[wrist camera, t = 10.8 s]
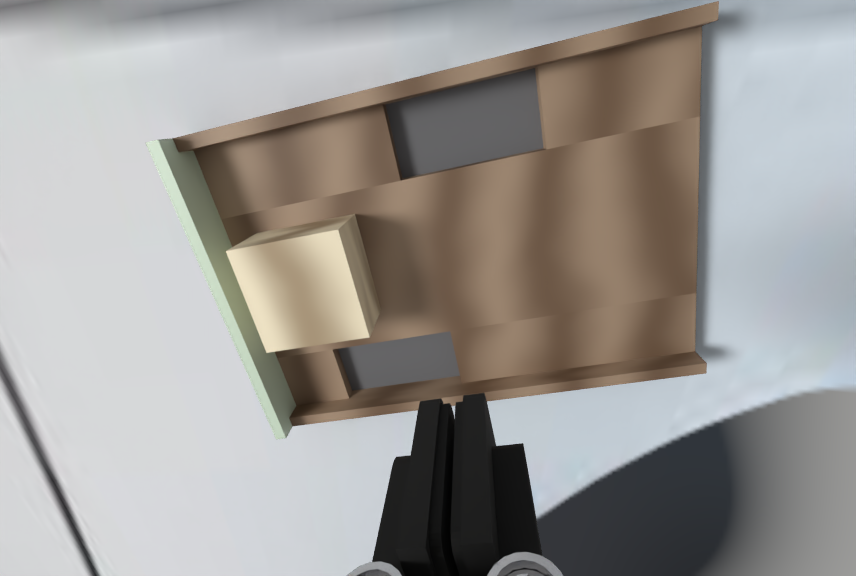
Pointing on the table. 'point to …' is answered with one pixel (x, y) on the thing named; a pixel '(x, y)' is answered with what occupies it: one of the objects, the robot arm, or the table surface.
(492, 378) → the box
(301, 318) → the block
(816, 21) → the table surface
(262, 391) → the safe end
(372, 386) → the trap pits
